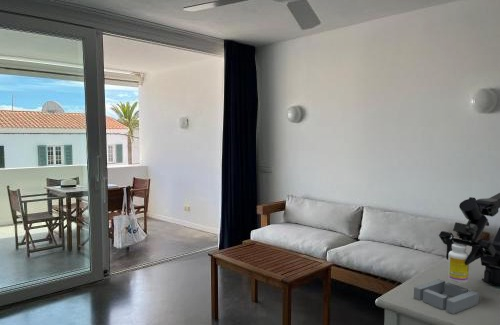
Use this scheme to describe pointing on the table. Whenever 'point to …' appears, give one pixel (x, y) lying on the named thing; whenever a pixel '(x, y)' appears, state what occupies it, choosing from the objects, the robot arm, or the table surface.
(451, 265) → the supplement bottle
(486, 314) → the table surface
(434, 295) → the cup holder
